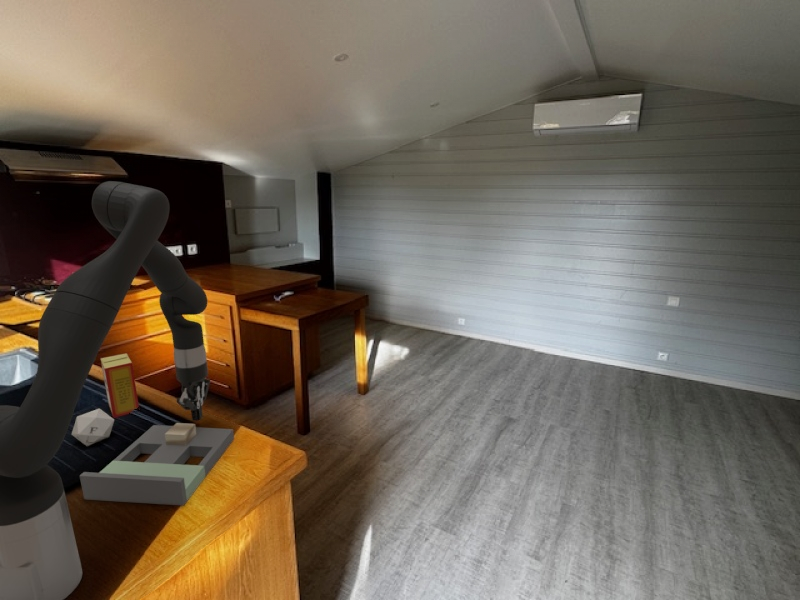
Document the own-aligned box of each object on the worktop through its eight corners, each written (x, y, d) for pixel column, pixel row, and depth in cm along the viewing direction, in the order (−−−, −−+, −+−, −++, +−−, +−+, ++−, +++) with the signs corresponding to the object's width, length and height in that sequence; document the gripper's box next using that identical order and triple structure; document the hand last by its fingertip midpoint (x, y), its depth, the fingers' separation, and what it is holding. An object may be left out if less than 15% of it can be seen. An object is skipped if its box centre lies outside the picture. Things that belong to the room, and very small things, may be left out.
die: (66, 450, 104) (70, 431, 99) (77, 420, 109) (81, 401, 104) (104, 452, 108) (110, 434, 103) (113, 423, 114) (119, 404, 109)
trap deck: (183, 505, 86) (180, 481, 84) (84, 499, 87) (79, 475, 85) (234, 438, 109) (232, 419, 107) (155, 434, 110) (152, 415, 108)
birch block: (185, 445, 101) (184, 435, 100) (166, 444, 101) (164, 434, 100) (196, 434, 106) (195, 423, 105) (177, 433, 106) (176, 422, 105)
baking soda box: (139, 410, 121) (131, 361, 117) (113, 418, 117) (104, 367, 113) (133, 398, 128) (126, 351, 124) (108, 405, 124) (100, 357, 120)
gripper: (190, 372, 100) (198, 433, 104) (216, 352, 112) (222, 407, 117) (161, 371, 100) (169, 432, 105) (190, 350, 113) (197, 406, 117)
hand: (197, 418), depth 111 cm, fingers closed
